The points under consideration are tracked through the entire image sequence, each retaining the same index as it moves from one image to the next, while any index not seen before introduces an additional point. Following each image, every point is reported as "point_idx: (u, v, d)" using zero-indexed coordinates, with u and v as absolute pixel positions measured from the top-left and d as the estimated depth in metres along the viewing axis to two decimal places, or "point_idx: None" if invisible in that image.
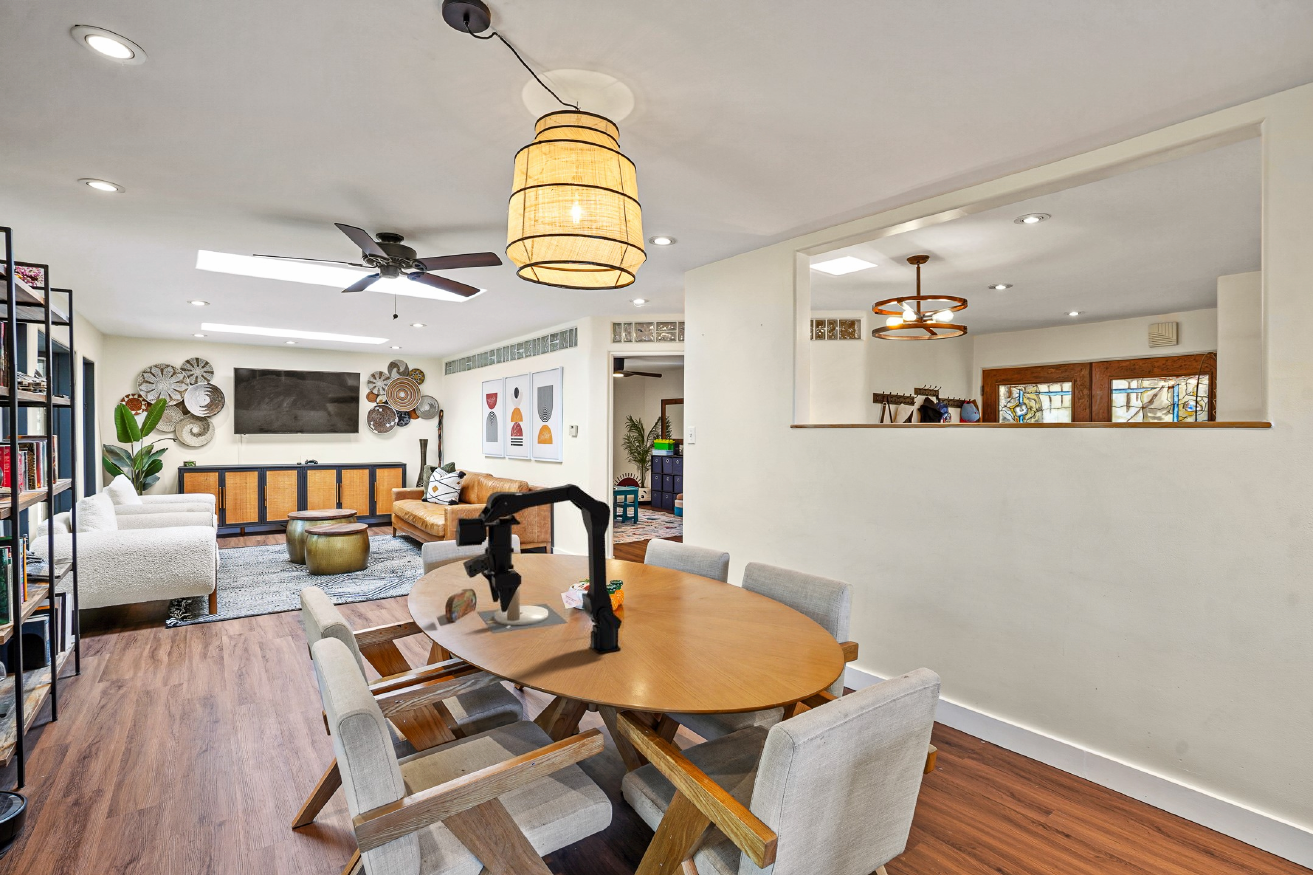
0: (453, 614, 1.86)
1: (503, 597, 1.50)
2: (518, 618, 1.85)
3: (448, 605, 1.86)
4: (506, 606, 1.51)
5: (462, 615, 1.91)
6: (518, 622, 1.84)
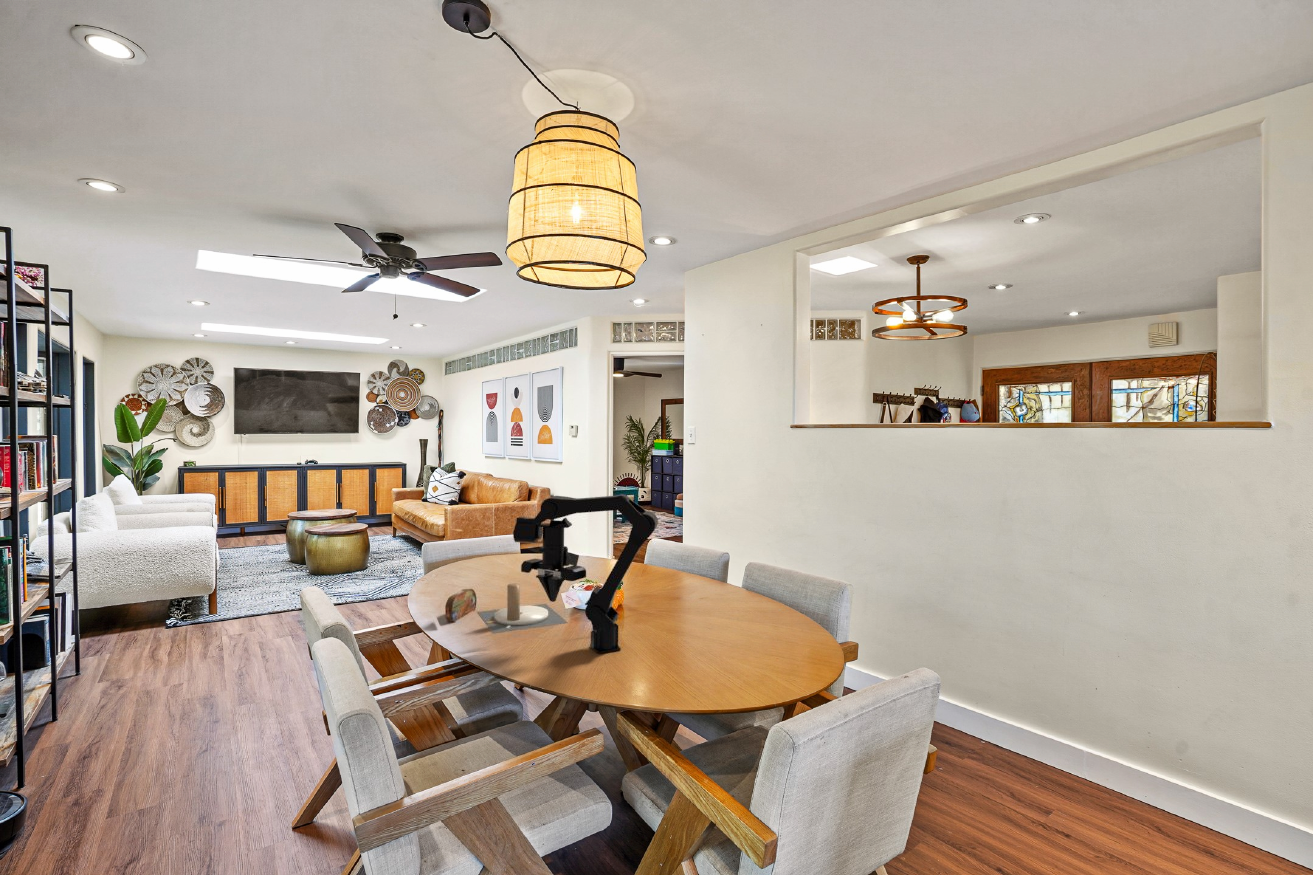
0: (453, 614, 1.86)
1: None
2: (518, 618, 1.85)
3: (448, 605, 1.86)
4: None
5: (462, 615, 1.91)
6: (518, 622, 1.84)
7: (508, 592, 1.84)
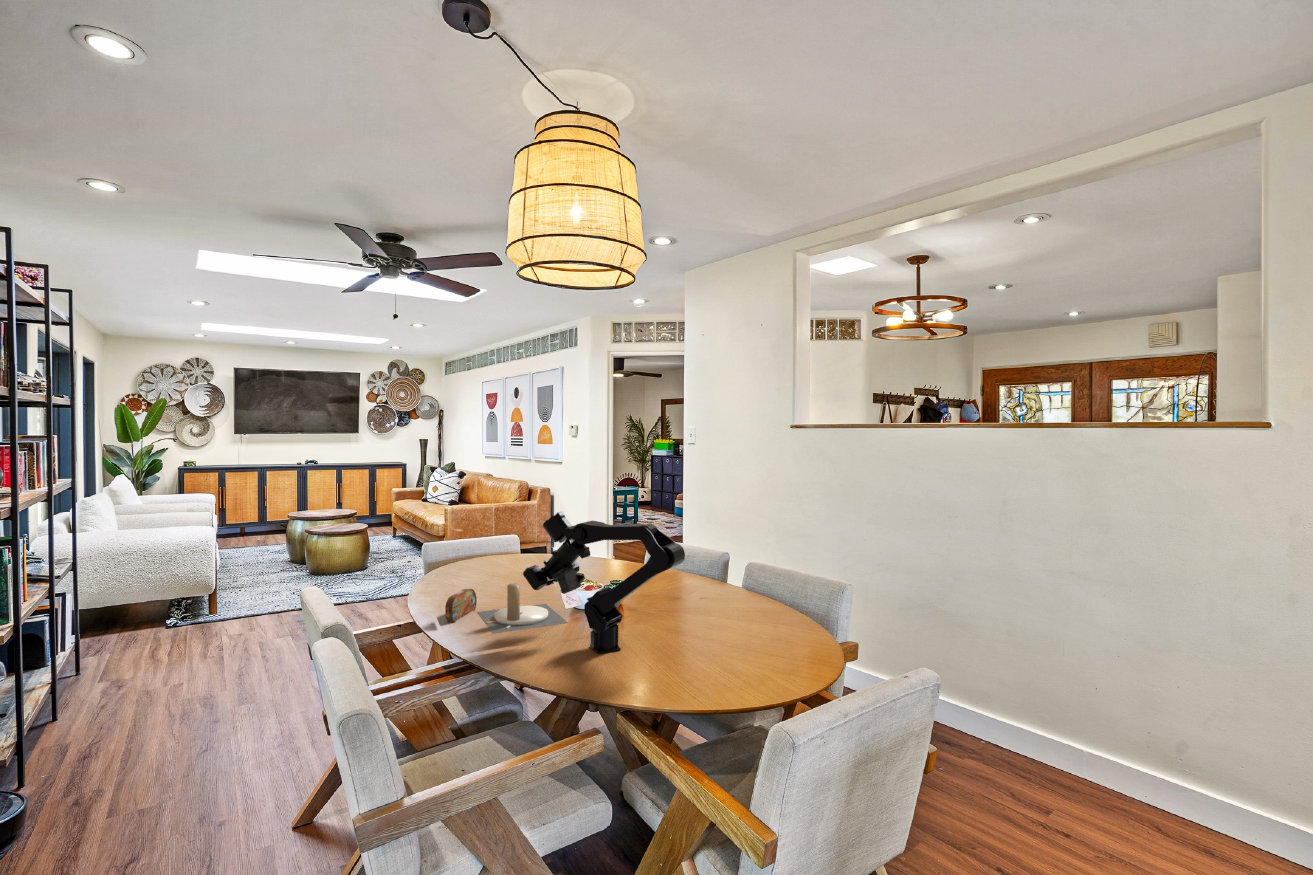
0: (453, 614, 1.86)
1: None
2: (518, 618, 1.85)
3: (448, 605, 1.86)
4: None
5: (462, 615, 1.91)
6: (518, 622, 1.84)
7: (508, 592, 1.84)
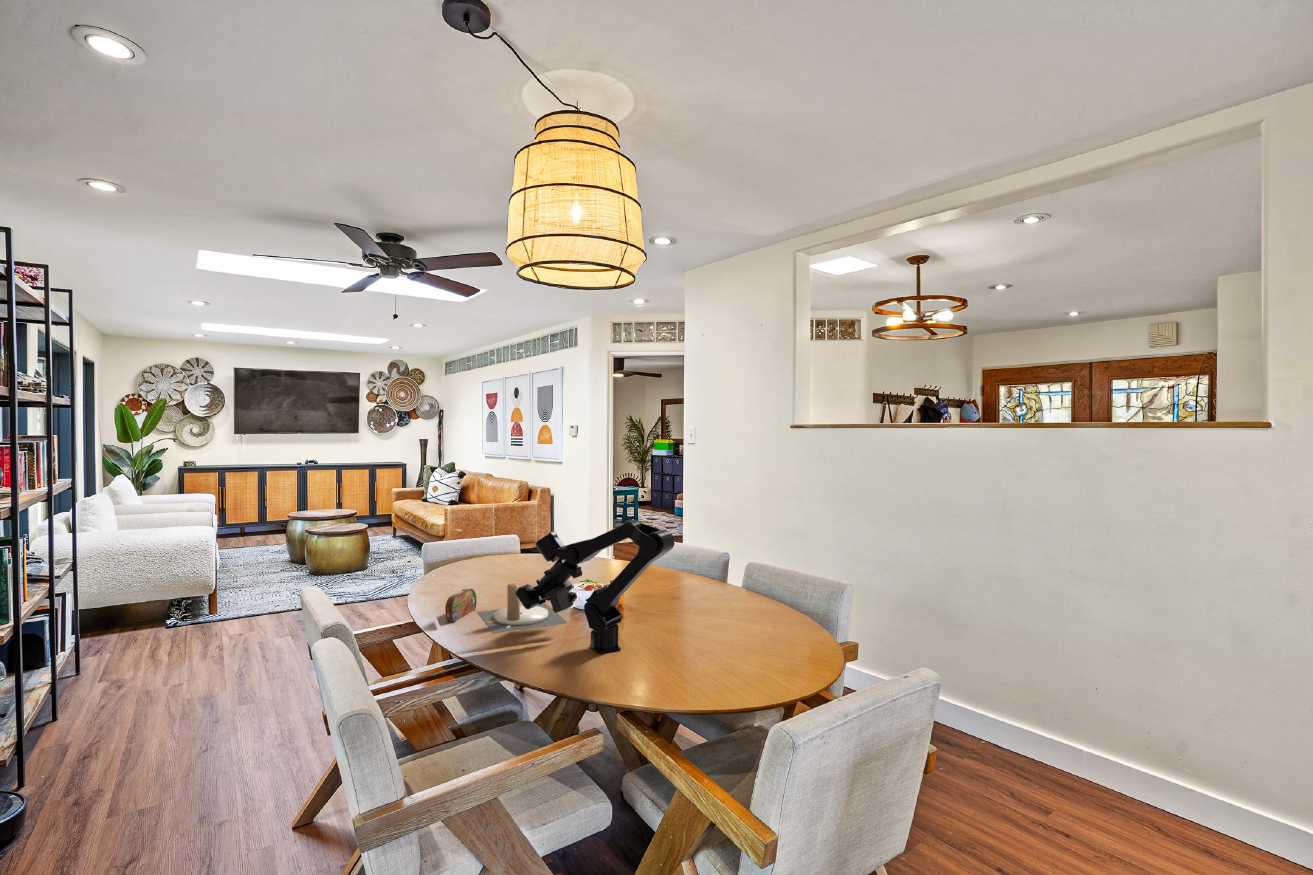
0: (453, 614, 1.86)
1: None
2: (518, 618, 1.85)
3: (448, 605, 1.86)
4: None
5: (462, 615, 1.91)
6: (518, 622, 1.84)
7: (508, 592, 1.84)
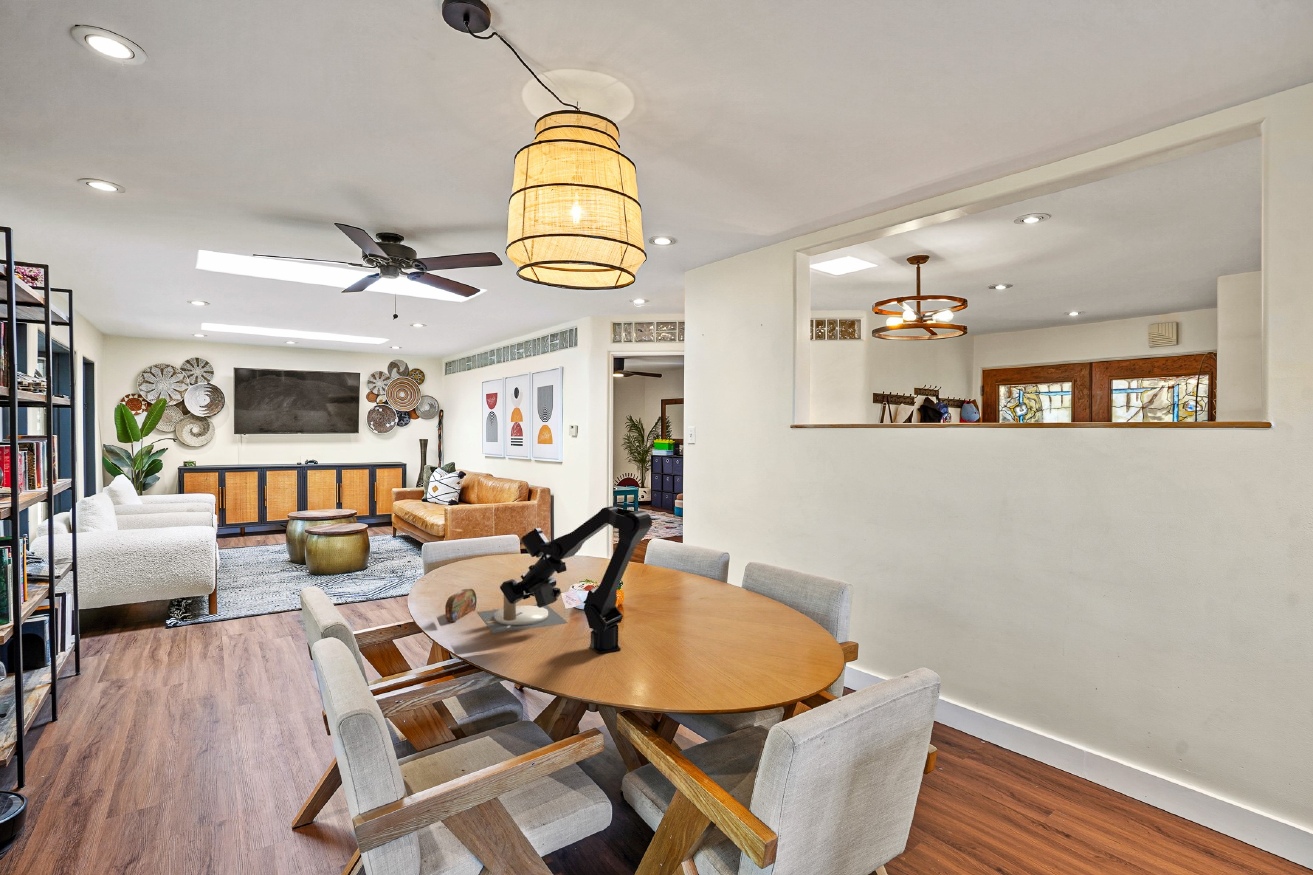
0: (453, 614, 1.86)
1: None
2: (513, 618, 1.85)
3: (448, 605, 1.86)
4: None
5: (462, 615, 1.91)
6: (512, 622, 1.84)
7: None
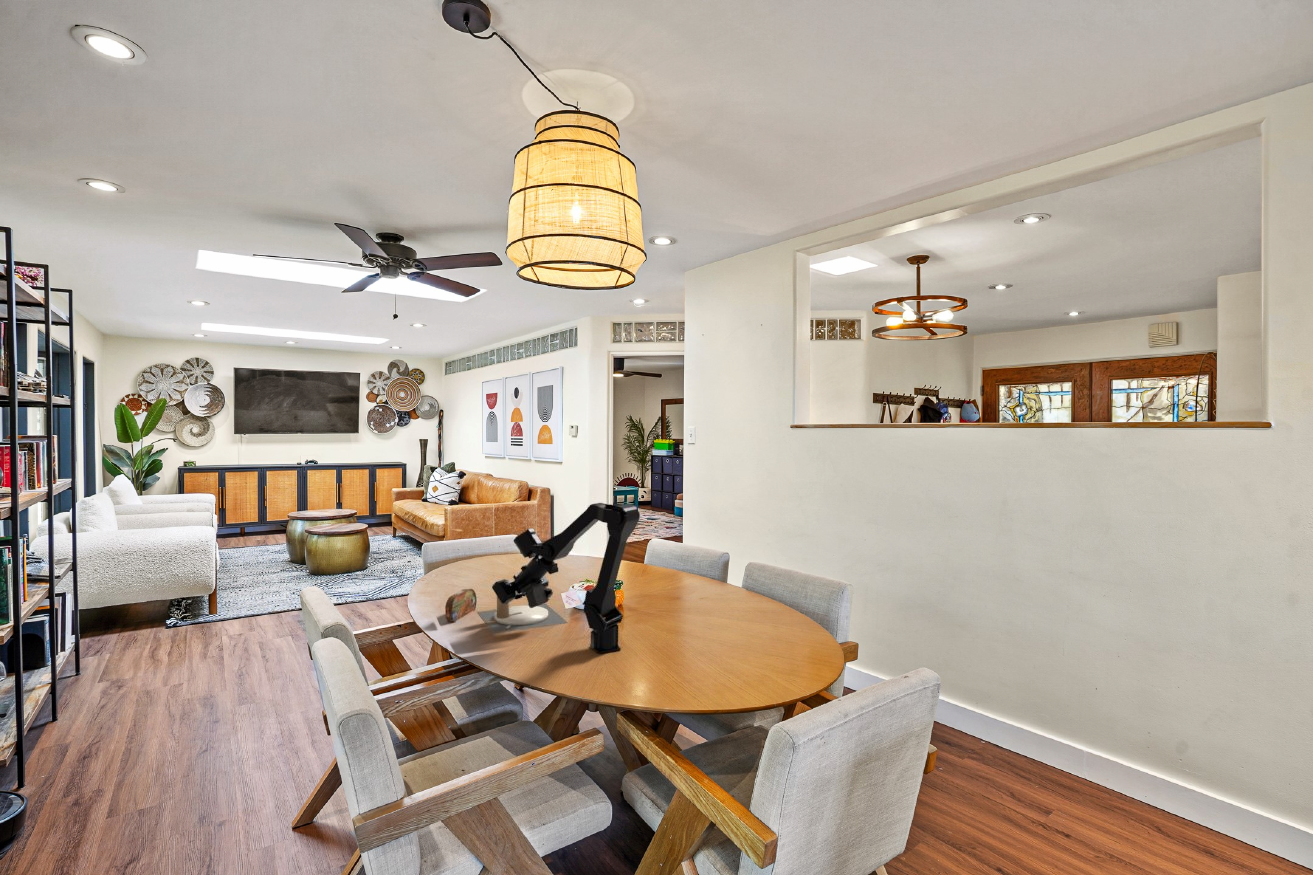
0: (453, 614, 1.86)
1: None
2: (504, 616, 1.86)
3: (448, 605, 1.86)
4: None
5: (462, 615, 1.91)
6: (500, 620, 1.85)
7: None
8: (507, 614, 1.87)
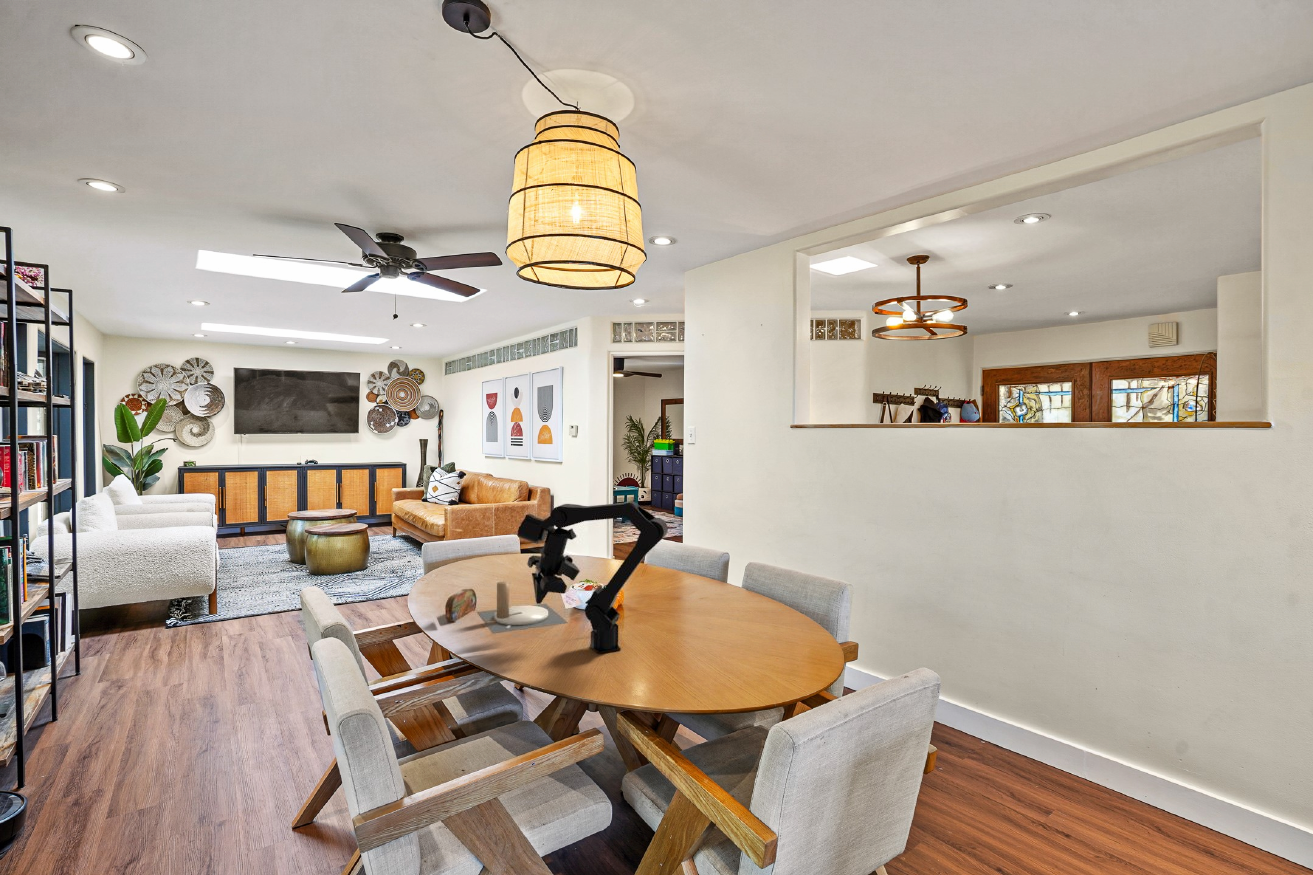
0: (453, 614, 1.86)
1: None
2: (504, 616, 1.86)
3: (448, 605, 1.86)
4: None
5: (462, 615, 1.91)
6: (500, 620, 1.85)
7: None
8: (507, 614, 1.87)
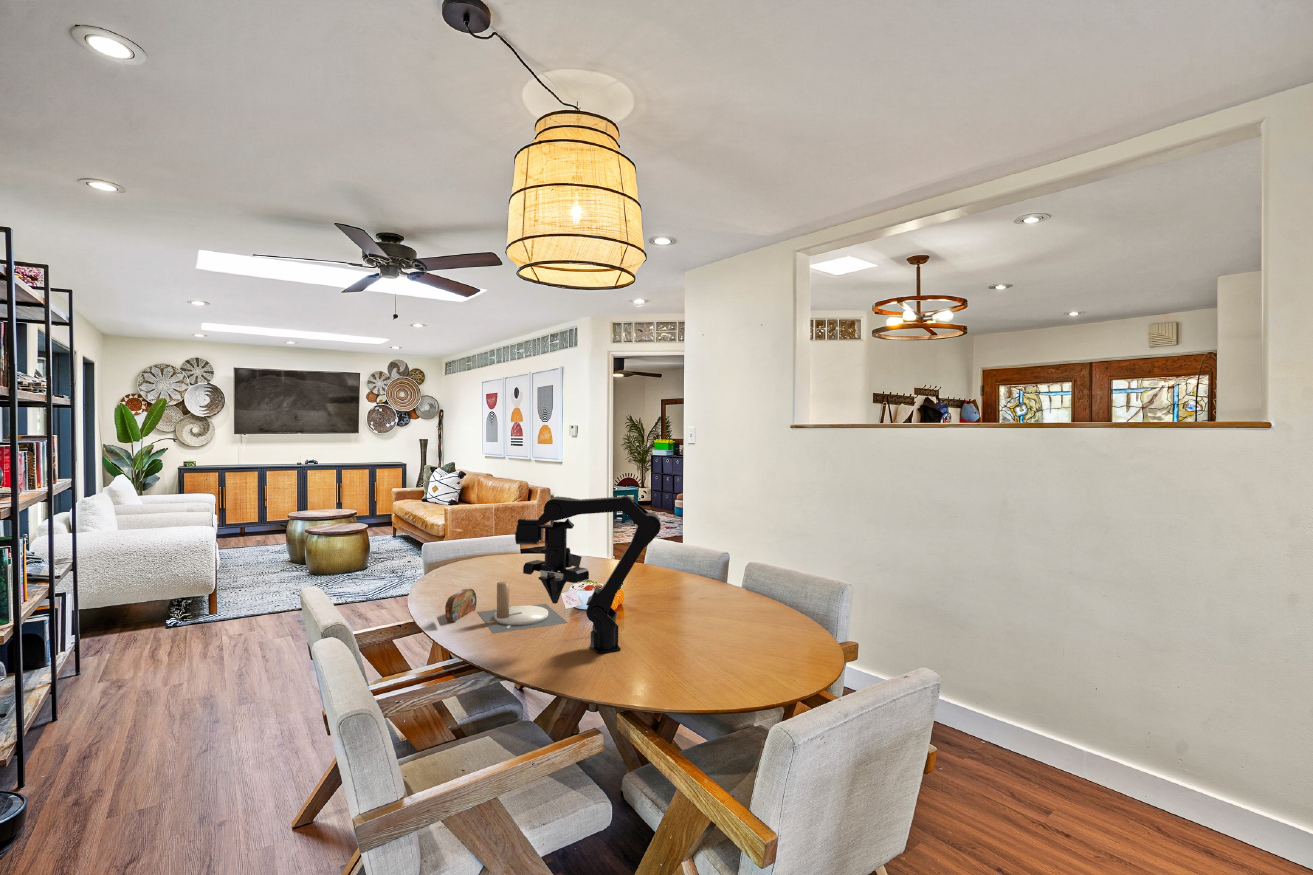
0: (453, 614, 1.86)
1: None
2: (504, 616, 1.86)
3: (448, 605, 1.86)
4: None
5: (462, 615, 1.91)
6: (500, 620, 1.85)
7: None
8: (507, 614, 1.87)
